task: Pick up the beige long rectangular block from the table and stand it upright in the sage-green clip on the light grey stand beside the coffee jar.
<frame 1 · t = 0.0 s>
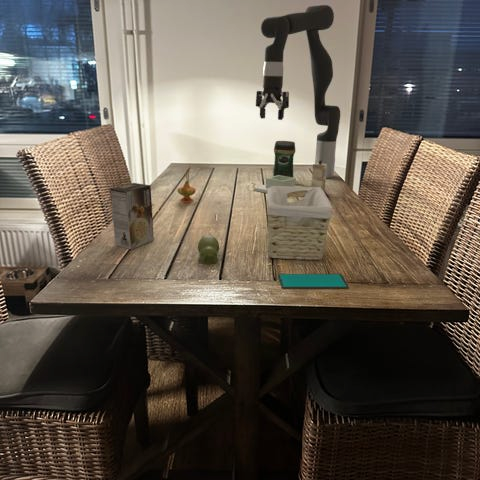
hand: (271, 119, 173), 29 cm above the table, tool pointing down, fingers open, 8 cm apart
coffee jar: (282, 182, 201), on the table
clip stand: (280, 190, 186), on the table
beige long rectangular block: (317, 193, 183), on the table
coffee box: (134, 243, 123), on the table
magic lamp: (186, 201, 167), on the table
green rounded piece: (208, 259, 113), on the table
smartphone: (312, 284, 101), on the table
storage basket: (294, 246, 123), on the table
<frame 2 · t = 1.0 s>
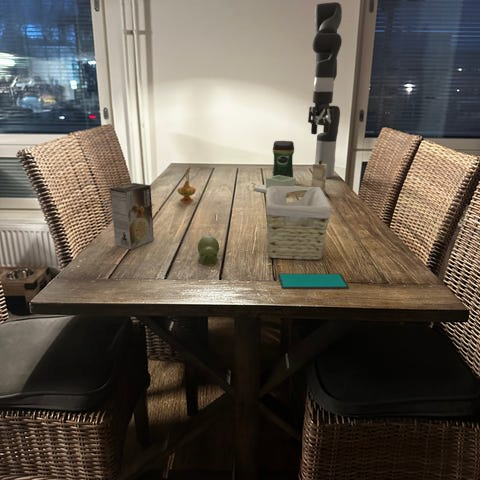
hand: (320, 133, 175), 24 cm above the table, tool pointing down, fingers open, 8 cm apart
nothing on the table moved.
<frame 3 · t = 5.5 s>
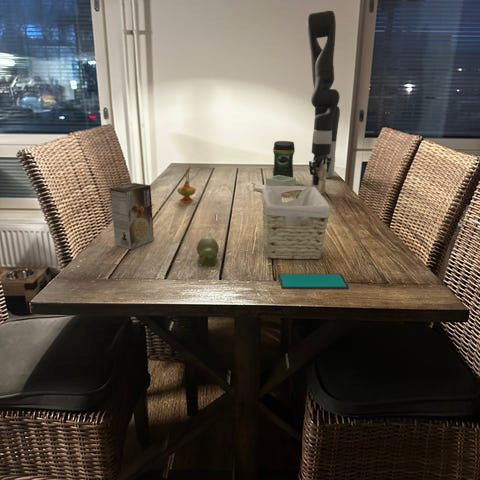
hand: (318, 183, 181), 4 cm above the table, tool pointing down, fingers closed on beige long rectangular block, 4 cm apart
beige long rectangular block: (317, 193, 183), on the table, touching gripper
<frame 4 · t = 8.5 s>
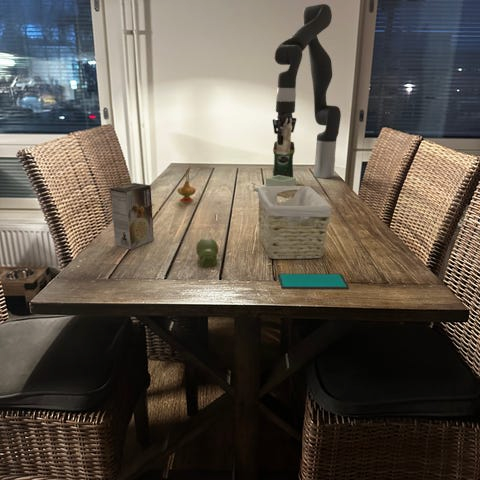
hand: (283, 144, 179), 19 cm above the table, tool pointing down, fingers closed on beige long rectangular block, 4 cm apart
beige long rectangular block: (283, 153, 181), point 15 cm above the table, touching gripper
when the fingers open (6 cm above the table, at t = 11.7 s): beige long rectangular block drops 1 cm, resting on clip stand.
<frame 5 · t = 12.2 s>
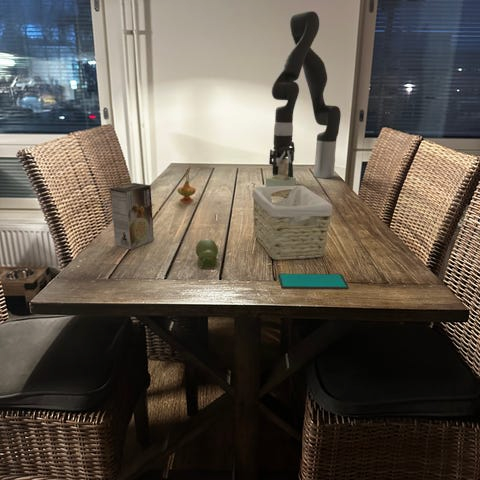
hand: (281, 173, 184), 7 cm above the table, tool pointing down, fingers open, 8 cm apart
beige long rectangular block: (280, 187, 186), point 1 cm above the table, touching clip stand
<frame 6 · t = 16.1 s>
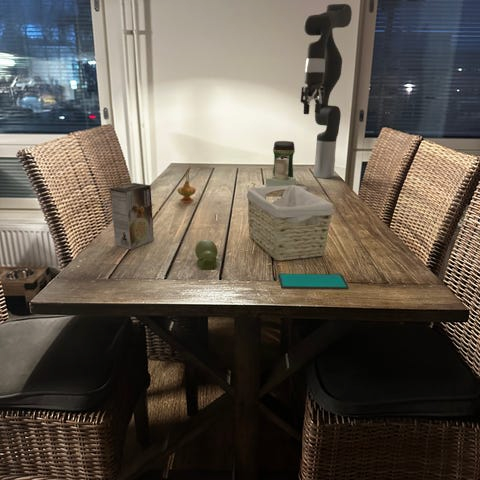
hand: (311, 113, 180), 31 cm above the table, tool pointing down, fingers open, 8 cm apart
at the end: beige long rectangular block 0.1 cm off-centre on the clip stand, point 1.2 cm above the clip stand's base; beige long rectangular block tilted 0°; the gripper is holding nothing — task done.
